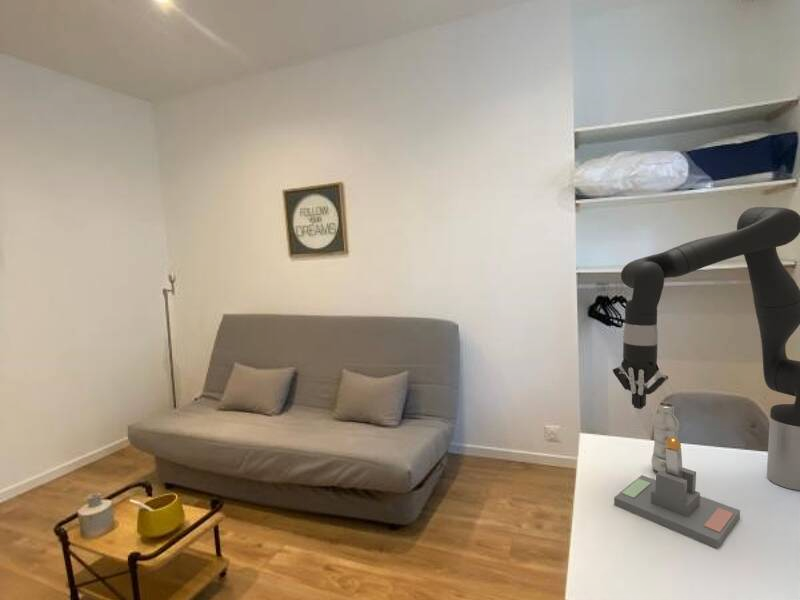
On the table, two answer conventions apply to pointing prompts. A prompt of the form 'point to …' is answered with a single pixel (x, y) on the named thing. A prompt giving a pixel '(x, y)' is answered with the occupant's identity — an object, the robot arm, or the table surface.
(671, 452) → the lever
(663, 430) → the plastic bottle
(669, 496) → the switch box
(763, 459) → the table surface
